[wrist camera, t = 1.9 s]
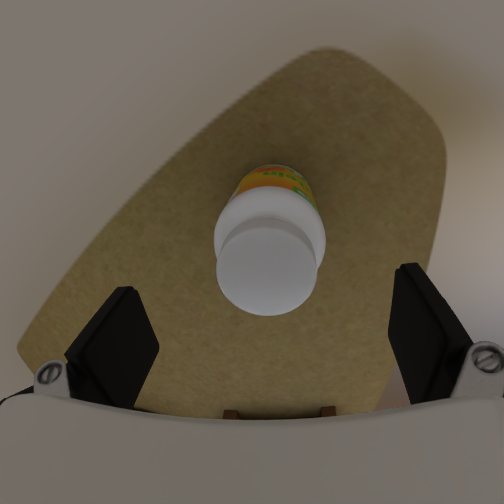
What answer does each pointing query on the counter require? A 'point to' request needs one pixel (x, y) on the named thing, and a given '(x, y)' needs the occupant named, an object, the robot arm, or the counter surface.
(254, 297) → the supplement bottle
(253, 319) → the counter surface
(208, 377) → the counter surface
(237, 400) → the counter surface
